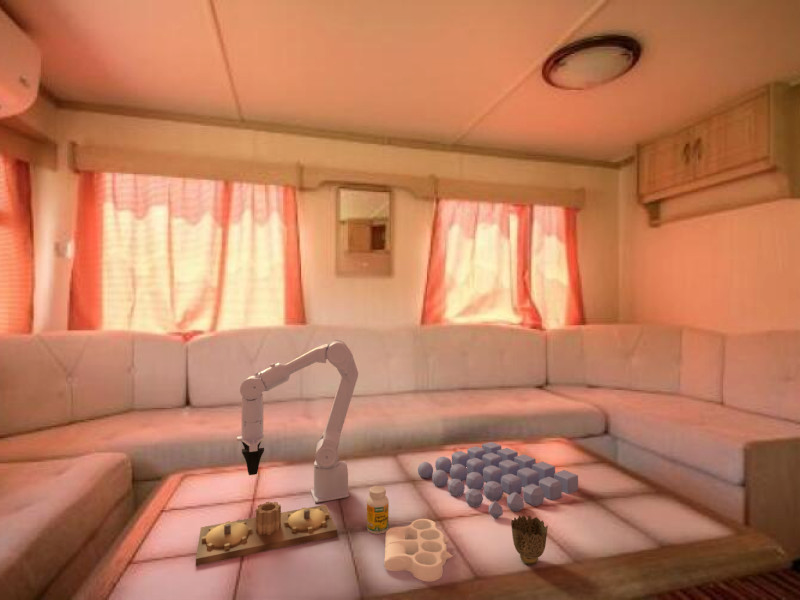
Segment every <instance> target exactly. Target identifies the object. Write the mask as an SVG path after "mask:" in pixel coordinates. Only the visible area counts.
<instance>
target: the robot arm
mask: <svg viewBox="0 0 800 600" xmlns="http://www.w3.org/2000/svg"><path fill="white" fill-rule="evenodd" d="M327 361H328V362H329V363H330V364H331V365H332V366H333V367H335V368H336V369H337V371H338V373H339V374H340V379H339V382H338V385H337V389H336V392H335V395H334V399H333V402H332V405H331V409H330V412H329V415H328V418H327V421H326V424H325V427H324V429H323V432H322V435H321V436H320V437H319V439H317V441H316V445H315V449H316V451H315V461H314V462H313V488H311V489H310V492H311V495H312V498H313V501H314V503H316V504H319V503H322V502H327V501H333V500H334V501H335V500H339V499H346V498H349V471H348V470H349V469H348V464H347V462H346V461H345V460H340V459H339V452H338V451H339V450H338V449H339V444H340V439H341V434H342V431H343V426H344V423H345V421H346V417H347V414H348V410H349V407H350V405H351V402H352V401H351V400H352V397H353V394H354V391H355V388H356V383H357V381H358V377H359V371H358V368H357V365H356V362H355V359H354V355H353V353H352V351H351V349H350V348H349V346H347V344H346V343H345V342H344V341H342V340H339V339H336V340H332V341H330V342H329V343H324V344H322V345H319V346H317V347H315V348H313V349H311V350H309V351H308V352H305V353H304V354H302V355H300V356H299V357H297V358H294V359H293V360H291V361H289V362H287V363H282V362H276V363H275V362H273V363H270V364H269V367H268V368H265V369H263V370H261V371H260V372H259V371H256V372H254V375H250V376H248V377H247V378H246V379H245V380H244V381H243V382H242V383H241V385H240V388H239V393H240V395H241V435H240V436H237V437H236V441H237V442H241V444H242V445H243V448H242V449H241V454H242V456H243V458H244V460H245V464H246V468H247V469H246V470H247V474H248V476H255V475H257V474H258V471H259V468H260V462H261V459H262V456H263V455H264V454H263V453H264V451H265V447H260V445H261V443H262V441H263V440H264V439H265V434H264V397H263V395H264V394H263V393H264V392H269V391H270V390H273V389H275V388H276V387H279V386H280V385H282V384H284V383H286V382H288V381H289V379H290V376H291V375H292V374H294V373H296V372H298V371H300V370H302V369H305V368H306V367H309V366H311V365H313V364H316V363H318V364H319V363H321V364H327Z"/></svg>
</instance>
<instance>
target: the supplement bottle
mask: <svg viewBox="0 0 800 600" xmlns="http://www.w3.org/2000/svg"><path fill="white" fill-rule="evenodd" d="M368 495H369V496H367V499H366V529H367V531H368V532H369V533H371V534H374V535H379V534H385V533H386V531H387V530H388V529H389V526H390V525H389V524H390V523H389V519H390V518H389V517H390V516H389V515H390V514H389V512H390V511H389V507H390V506H389V503H390V501H389V498H388V496H386V487H384V486H382V485H374V486H371V487H370V488H369V493H368Z"/></svg>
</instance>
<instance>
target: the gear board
mask: <svg viewBox="0 0 800 600" xmlns="http://www.w3.org/2000/svg"><path fill="white" fill-rule="evenodd" d="M337 536H338V529H337V527H336V525H335V522H334V519H333V517H332V516H331V512H330V511H329V509H328V505H327V504H321V505H316V506H310V507H301V508H299V509H293V510H289V511H284V512H283V511H281V527H279V530H278V531H277V532H274V533H271V534H270V535H267V534H262V535H260V534H258V532H256V516H255V517H249V518H245V519H239V520H233V521H231V520H229V521H225V522H223V523H218V524H212V525H207V526H201V527H200V531H199V536H198V543H197V548H196V556H195V566H196V567H197V566H202V565H208V564H211V563H216V562H221V561H226V560H230V559H235V558H236V559H237V558H240V557H245V556H251V555H254V554H258V553H259V554H260V553H263V552H264V553H265V552H268V551H273V550H277V549H282V548H287V547H292V546H296V545H302V544H306V543H310V542H315V541H320V540H324V539H330V538H333V537H334V538H335V537H337Z"/></svg>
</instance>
